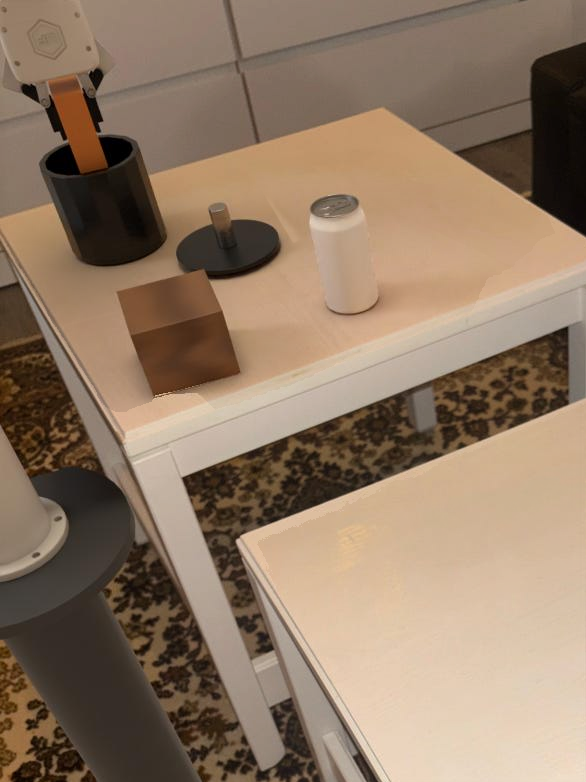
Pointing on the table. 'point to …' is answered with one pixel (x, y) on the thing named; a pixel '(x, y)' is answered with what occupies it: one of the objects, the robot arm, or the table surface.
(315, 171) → the table surface
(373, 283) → the can
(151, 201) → the trash tin
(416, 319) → the table surface
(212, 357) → the riser
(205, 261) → the tin lid
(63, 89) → the block
